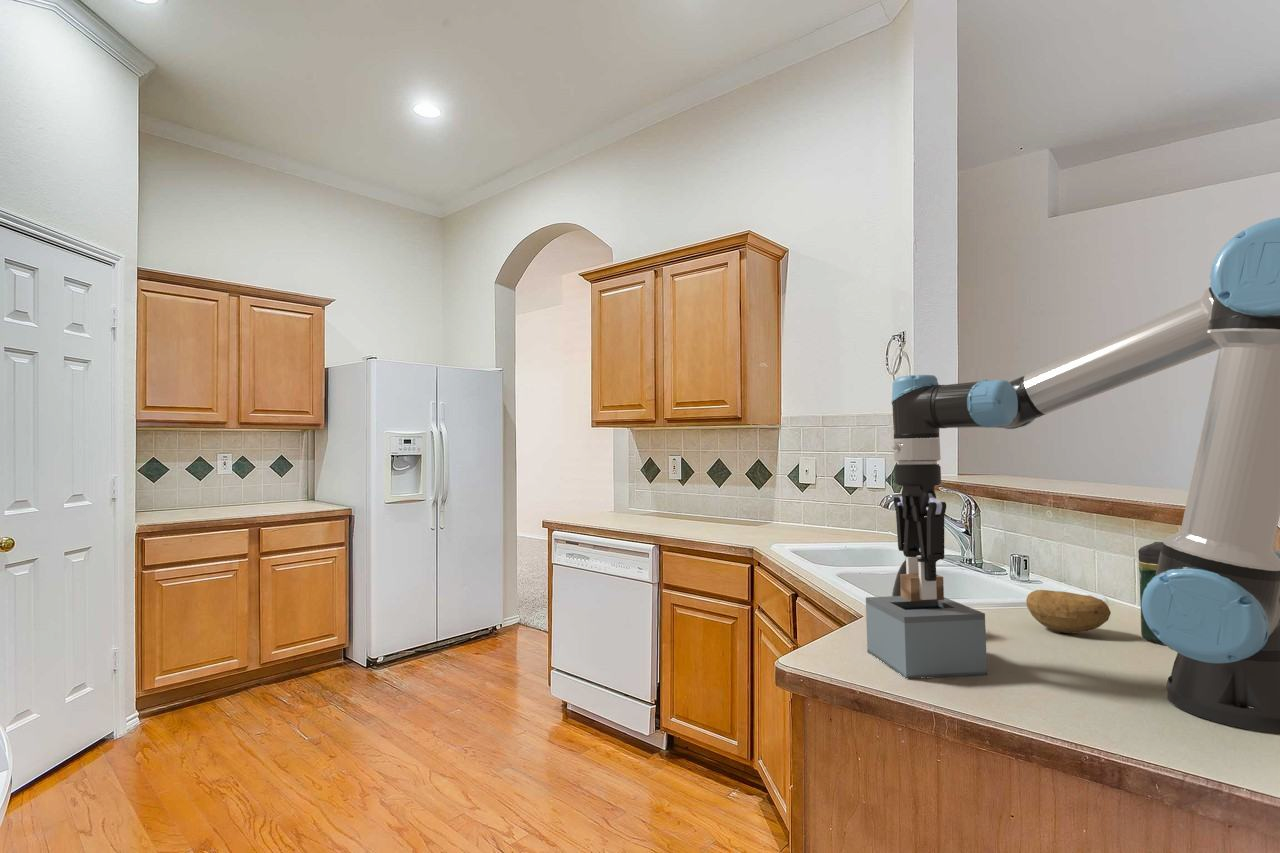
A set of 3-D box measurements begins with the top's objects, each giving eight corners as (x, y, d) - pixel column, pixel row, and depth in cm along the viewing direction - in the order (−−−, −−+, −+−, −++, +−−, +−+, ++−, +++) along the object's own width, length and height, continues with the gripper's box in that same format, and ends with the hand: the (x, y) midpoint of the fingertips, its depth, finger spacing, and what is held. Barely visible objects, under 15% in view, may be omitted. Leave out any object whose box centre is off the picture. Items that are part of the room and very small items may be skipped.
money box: (987, 674, 104) (984, 613, 104) (906, 679, 103) (904, 617, 103) (939, 648, 118) (937, 594, 118) (867, 651, 117) (865, 597, 117)
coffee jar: (1193, 650, 114) (1188, 547, 115) (1138, 641, 120) (1133, 543, 120) (1198, 639, 121) (1193, 541, 122) (1146, 631, 126) (1141, 538, 127)
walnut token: (943, 600, 109) (943, 576, 109) (911, 601, 109) (910, 578, 109) (932, 595, 113) (931, 572, 113) (900, 596, 112) (900, 574, 112)
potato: (1113, 643, 119) (1111, 601, 119) (1026, 632, 127) (1024, 592, 127) (1110, 630, 127) (1108, 590, 127) (1028, 621, 135) (1026, 583, 135)
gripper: (875, 462, 120) (879, 587, 119) (922, 464, 103) (927, 608, 102) (912, 461, 120) (917, 585, 119) (965, 463, 104) (970, 606, 103)
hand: (921, 596), depth 111 cm, fingers closed on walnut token, 3 cm apart
